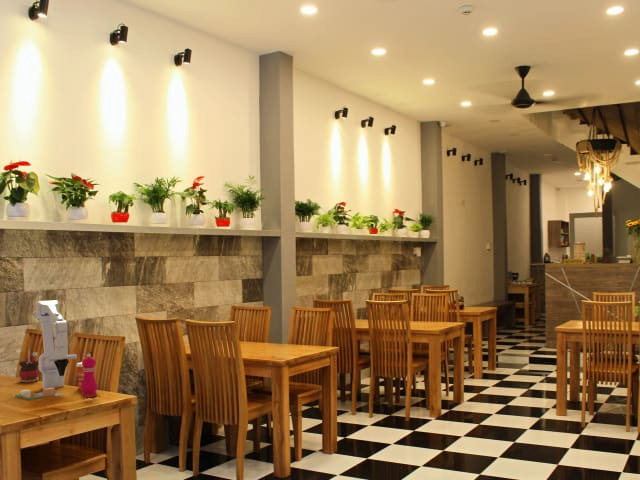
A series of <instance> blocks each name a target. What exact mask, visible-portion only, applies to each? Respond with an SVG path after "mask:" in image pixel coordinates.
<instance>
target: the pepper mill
mask: <svg viewBox="0 0 640 480" xmlns="http://www.w3.org/2000/svg"><path fill="white" fill-rule="evenodd" d="M81 362H82V366H83V367H84V368H83V369H84V370H83V371H84V380H83V383H82V386H81V390H80V391H81V392H82V394H81V395H82V396H87V397H85V398H86V400H87V399H88V398H90V399H95V398H97V390H98V388H99V387H98V382H97V381H96V378H95V373H94V372H95V366H96V364H97V363H96V362H97V361H96V359H95V358H94V357H92V356H91V354H90V353H87V354H86V357H84V358H83V360H82V361H81ZM88 400H89V399H88Z"/></svg>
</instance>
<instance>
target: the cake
mask: <svg viewBox="0 0 640 480" xmlns="http://www.w3.org/2000/svg"><path fill="white" fill-rule="evenodd" d="M36 356H38V352H32V353H31V348H30V346H29V347H28V348H27V358H26V360H21V361H20V362H19V363H18V365H19V366H20V370H19V371H18V372H19V377H20V379H19V382H23V383H32V382H33V381H34V382H36V381H39V380H40V377H39V375H40V371H39V365H38V364H39V360H36V359H35V357H36Z"/></svg>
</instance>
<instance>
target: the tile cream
mask: <svg viewBox="0 0 640 480" xmlns="http://www.w3.org/2000/svg"><path fill="white" fill-rule="evenodd" d="M19 391H20V393H19V394H20V395H22V396H26V397H32V390H31V389H22V390H19Z"/></svg>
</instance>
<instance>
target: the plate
mask: <svg viewBox="0 0 640 480" xmlns="http://www.w3.org/2000/svg"><path fill="white" fill-rule="evenodd" d="M32 395H33V396H35V397H36V396H42V395H43V391H42V392H41V391H40V392H35V393H31V396H32ZM62 395H64V393H61V392H56V391H55V395H52V396H45V398H49V397H50V398H51V397H56V396H62Z"/></svg>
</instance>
